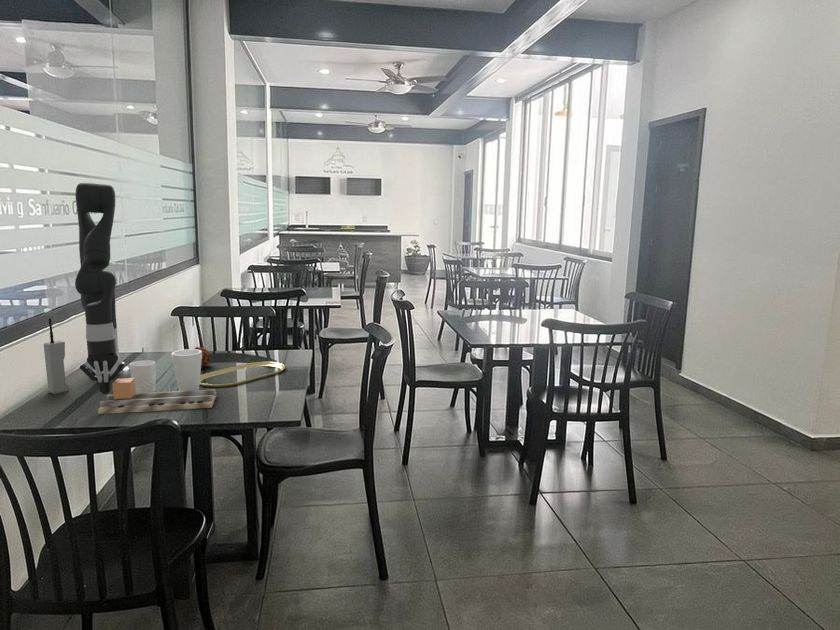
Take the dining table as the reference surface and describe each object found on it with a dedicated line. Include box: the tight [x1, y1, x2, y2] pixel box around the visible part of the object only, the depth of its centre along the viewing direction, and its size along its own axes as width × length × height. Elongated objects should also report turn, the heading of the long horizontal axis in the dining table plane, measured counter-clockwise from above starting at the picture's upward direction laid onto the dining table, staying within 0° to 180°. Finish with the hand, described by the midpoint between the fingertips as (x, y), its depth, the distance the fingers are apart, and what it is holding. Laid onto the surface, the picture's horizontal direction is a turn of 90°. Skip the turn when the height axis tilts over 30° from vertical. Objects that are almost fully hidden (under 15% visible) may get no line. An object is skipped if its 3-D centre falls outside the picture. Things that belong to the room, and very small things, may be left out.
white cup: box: [128, 359, 157, 393], centre depth 199 cm, size 8×8×10 cm
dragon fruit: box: [194, 346, 212, 369], centre depth 232 cm, size 8×8×12 cm
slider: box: [111, 377, 136, 400], centre depth 184 cm, size 5×5×7 cm
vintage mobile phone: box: [43, 317, 70, 395], centre depth 198 cm, size 4×5×25 cm
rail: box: [97, 388, 217, 415], centre depth 186 cm, size 32×12×3 cm, turn 101°
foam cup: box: [171, 348, 202, 391], centre depth 201 cm, size 10×9×13 cm
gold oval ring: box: [199, 361, 286, 388], centre depth 221 cm, size 19×35×2 cm, turn 145°
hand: (105, 393), depth 183 cm, fingers closed
